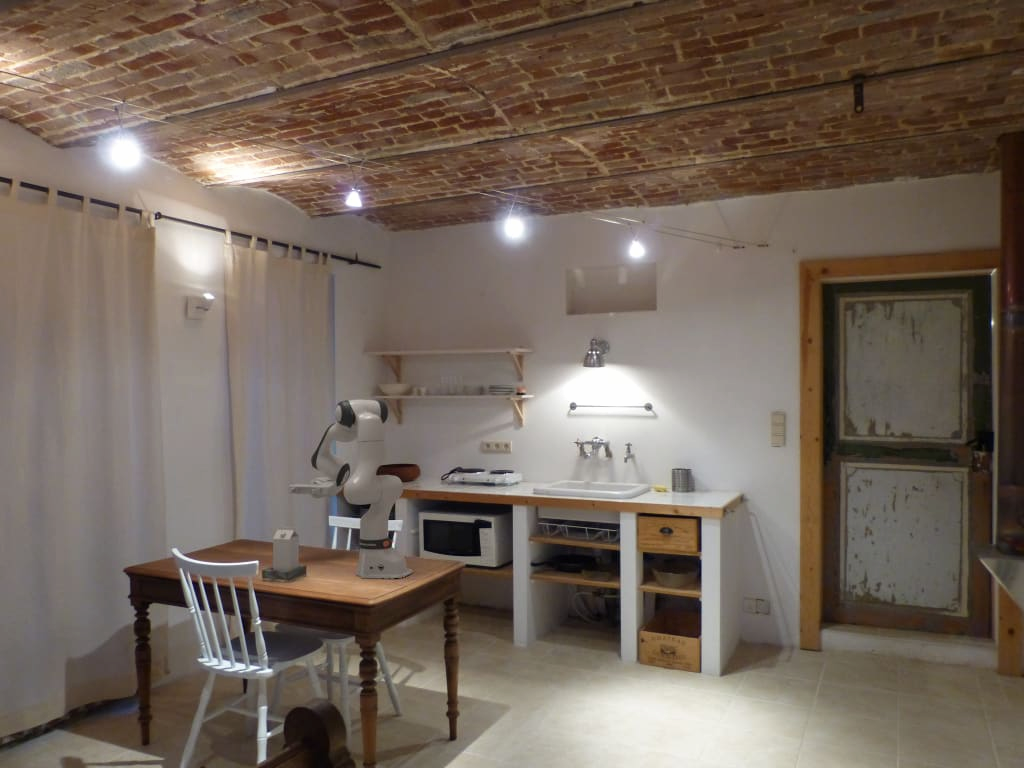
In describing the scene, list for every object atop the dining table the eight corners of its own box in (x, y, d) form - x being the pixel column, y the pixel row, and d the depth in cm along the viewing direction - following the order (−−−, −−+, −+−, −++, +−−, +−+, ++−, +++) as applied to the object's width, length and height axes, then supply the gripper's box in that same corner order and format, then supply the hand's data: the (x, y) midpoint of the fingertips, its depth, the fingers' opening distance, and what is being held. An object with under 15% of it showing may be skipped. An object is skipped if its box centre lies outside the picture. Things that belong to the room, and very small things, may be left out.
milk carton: (282, 573, 302) (282, 525, 303) (298, 574, 301) (298, 525, 301) (272, 577, 295) (273, 528, 296) (289, 578, 294) (289, 528, 294)
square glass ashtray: (306, 575, 302) (306, 565, 303) (289, 582, 291) (289, 572, 291) (280, 573, 306) (280, 563, 306) (262, 580, 294) (262, 570, 294)
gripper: (298, 480, 338) (280, 483, 324) (339, 481, 332) (322, 484, 318) (298, 494, 337) (280, 498, 324) (339, 495, 332) (322, 499, 318)
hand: (301, 491), depth 321 cm, fingers open, 8 cm apart
